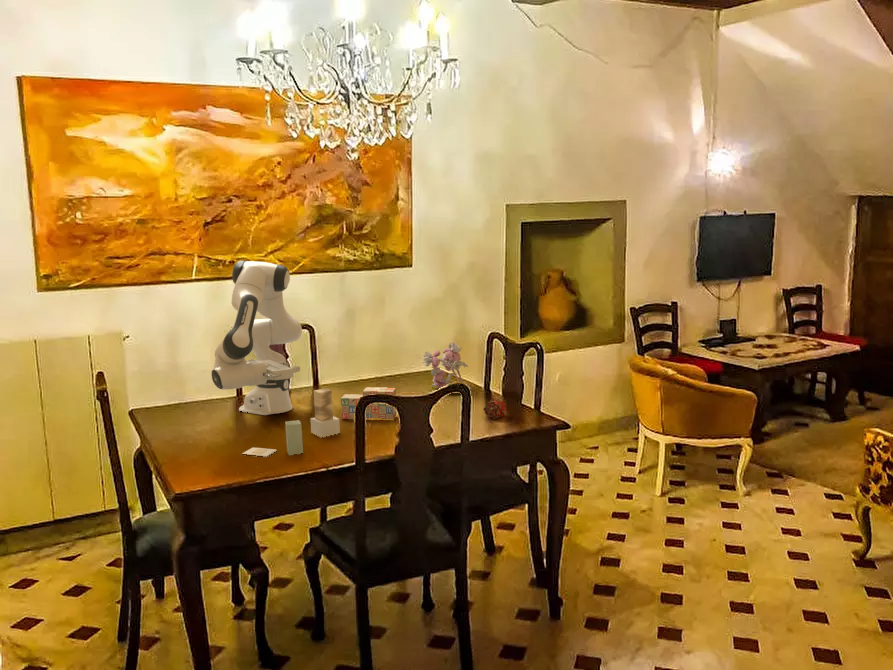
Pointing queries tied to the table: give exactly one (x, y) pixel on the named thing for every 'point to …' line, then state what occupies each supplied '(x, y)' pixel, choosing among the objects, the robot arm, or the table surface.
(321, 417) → the birch block
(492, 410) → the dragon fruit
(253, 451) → the card
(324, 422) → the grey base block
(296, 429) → the sage block
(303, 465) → the table surface
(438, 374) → the flower
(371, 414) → the stack of blocks
